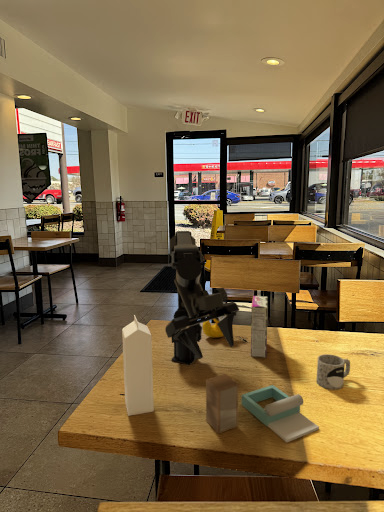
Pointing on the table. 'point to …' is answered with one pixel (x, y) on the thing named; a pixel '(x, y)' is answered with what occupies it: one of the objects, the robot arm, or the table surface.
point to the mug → (332, 371)
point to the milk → (138, 368)
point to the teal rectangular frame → (279, 412)
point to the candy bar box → (259, 326)
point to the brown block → (222, 403)
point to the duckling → (212, 329)
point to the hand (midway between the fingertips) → (217, 352)
